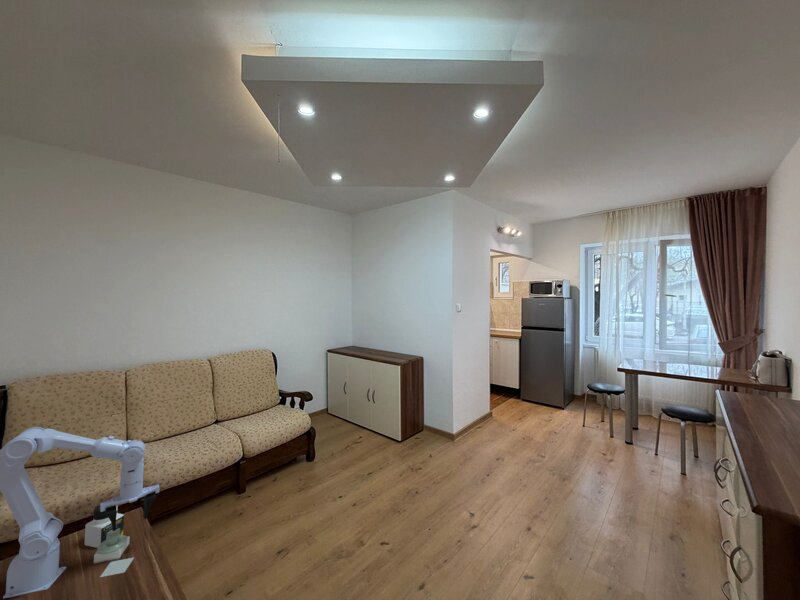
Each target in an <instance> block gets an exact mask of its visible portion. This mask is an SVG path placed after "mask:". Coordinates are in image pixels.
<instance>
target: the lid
mask: <svg viewBox="0 0 800 600" xmlns="http://www.w3.org/2000/svg"><path fill="white" fill-rule="evenodd" d="M127 537H128V536H127V535H125V534H122V535H120V530H119V529H116V530H115V531H113V530H112V531H110V532H108V533H107V537H106V540H105V541H104V542H102V543H101V544H100V545H99V546H98V548H97V551H98V553H99V554H109V553H112V552H114V551H117V550H119V549H120V548H122V547H123V546H124V545H125V544H126V543H127Z"/></svg>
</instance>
